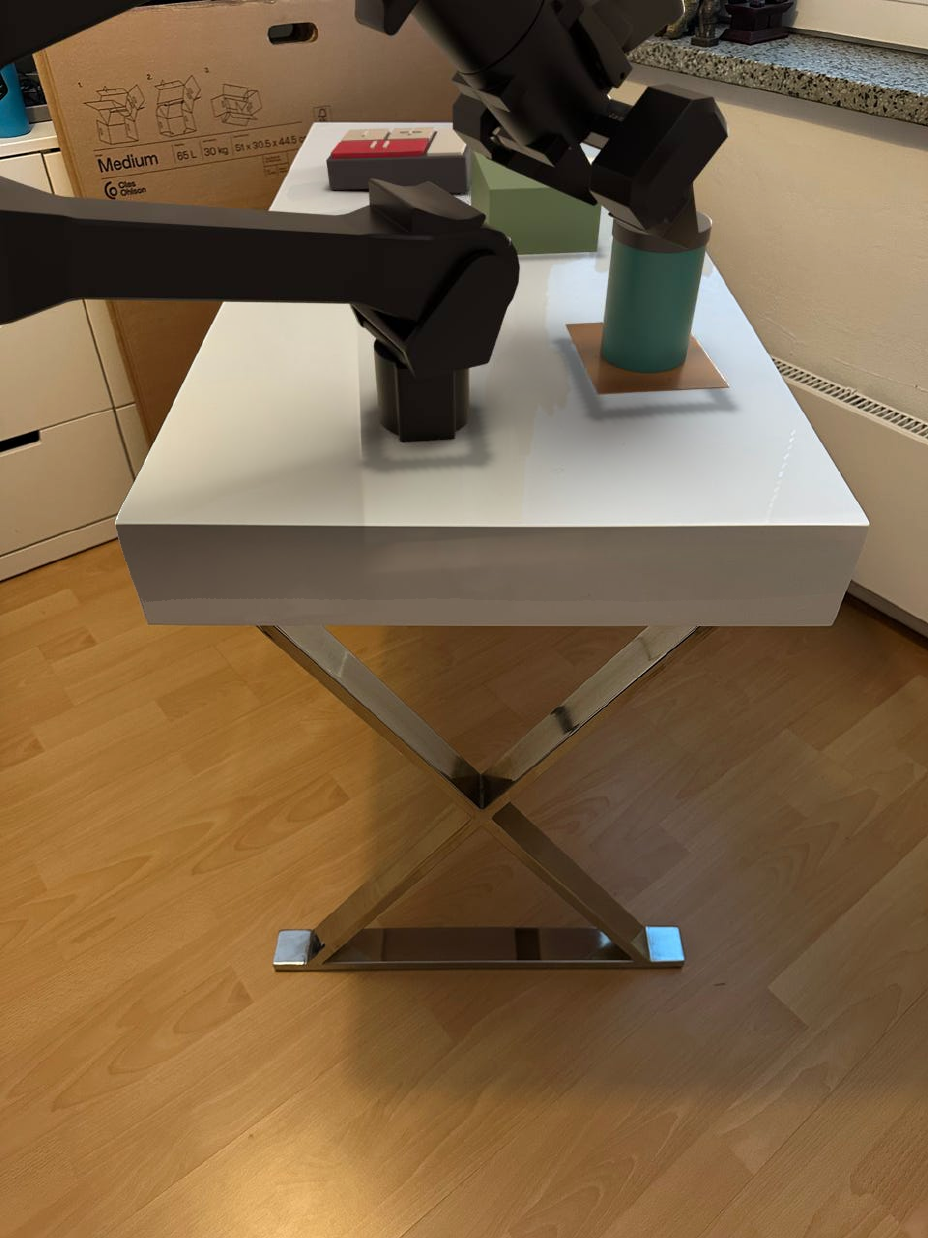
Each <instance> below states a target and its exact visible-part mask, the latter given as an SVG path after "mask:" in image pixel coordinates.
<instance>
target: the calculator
mask: <svg viewBox="0 0 928 1238" xmlns="http://www.w3.org/2000/svg"><path fill="white" fill-rule="evenodd" d="M325 162H326V170H327V177H328V183H329V189H330V190H332V191H339V190H340V191H342V190H369V180H370V179H371V178H373V179H378V180H382V181H385V182H388V183H391V184H395V185H399V186H404V187H405V186H417V185H419V184H422V183H425V182H427V181H429V182H431V183H433V184H435V185H436V186H438V187H440V188H441V189H443V190H445V191H446V192H448V193H450V194H463V193H467V192H468V191H469V188H470V187H471V149H470V148H469V147H468V146H467V145H466V144H465V143H464V141H463V140H462V139H461V138H460V137H459V136H458V135H457V134H456V132H455V131H454V130H453V127H451V128H450V127H447V128H439V129H437V131H436V129H435V127H434V126H422V127H420V126H419V127H396V128H395V127H394V128H393V129H392V131H391V132H390V128H387V127H386V128H385V127H384V128H361V129H357V128H356V129H355V128H354V129H348V131H347V132H346V133H345V134H344V135H343V137H342V138H341V139H340V141H339V142H338V143H337V144H336V145H335V147H334V148H333V149H332V150H331V152H330V155H329V156H328V157H327V159H326V160H325Z"/></svg>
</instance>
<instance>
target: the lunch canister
mask: <svg viewBox="0 0 928 1238" xmlns="http://www.w3.org/2000/svg"><path fill="white" fill-rule="evenodd" d="M696 213H697V221H698V229H699V236H698V238H697V239H696V240H695V242H694V243H693V244H692V245H691V247H690V248H689V249H684V248H681V247H679V246H677V245H674V244H672V243H670V242H667V241H665V240H663V239H660V238H657V237H655V236H653V235H650V234H648V233H645V232H643V231H640V230H638V229H635V228H633V227H631V226H629V225H627V224H625V223H623V222H620V221H618V220H616V219H614V218H612V228H611V236H612V240H611V241H612V242H611V249H610V250H611V251H610V258H609V267H608V275H607V276H608V278H607V286H606V295H605V303H604V312H603V321H602V322H603V330H602V339H601V348H600V352H601V355H602V357H603V358H604V359H605V360H606V361H607V362H609V363H610V364H612V365H614V366H616V367H619V368H621V369H625V370H629V371H634V372H642V373H657V372H665V371H669V370H672V369H675V368H677V367H679V366H681V365H682V364H683V363H684V362H685V360H686V357H687V351H688V346H689V340H690V335H691V332H692V328H693V323H694V317H695V312H696V307H697V301H698V296H699V290H700V286H701V285H700V284H701V279H702V275H703V268H704V262H705V257H706V252H707V246H708V243H709V242H710V239H711V234H712V229H713V228H712V227H713V221H712V219H711V218H710V217H709V216H708V215H707V214H705V213H703V212H700V211H698V210H696Z"/></svg>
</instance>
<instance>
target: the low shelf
mask: <svg viewBox="0 0 928 1238" xmlns="http://www.w3.org/2000/svg"><path fill="white" fill-rule="evenodd" d="M565 327H566V329H567V331H568V333H569V336H570V338H571V341H572V342H573V344H574V346H575V348H576V351H577V353H578V356H579V357H580V360H581V362H582V364H583V366H584V368H585V371H586V372H587V375H588V377H589V379H590V381H591V383H592V385H593V387H594V390H595V392H596V394H597V395H617V394H618V395H619V394H634V393H635V394H636V393H654V392H656V393H657V392H674V391H691V390H693V391H694V390H710V389H711V390H712V389H729V388H731V386H730V385H729V383H728V382H727V380H726V379H725V378H724V376H723V374H722V373H721V372H720V370H719V369H718V368H717V365H715V363H714V362H713V360H712V359H711V357H710V356H709V355H708V353H707V351H705V349H704V347H703V345H701V344H700V342H699V340H698V339H697V338H696V336H695V335H694V334H693V332H692V331H691V335H690V340H689V346H688V351H687V357H686V360H685V362H684V363H683V364H682V365H681V366H679V367H677V368H675V369H672V370H669V371H665V372H657V373H642V372H634V371H629V370H625V369H621V368H619V367H616V366H614V365H612V364H610V363H609V362H607V361H606V360H605V359H604V358H603V357H602V355H601V352H600V348H601V339H602V330H603V321H602V322H601V321H600V322H584V323H583V322H582V323H581V322H580V323H566V324H565Z"/></svg>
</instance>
